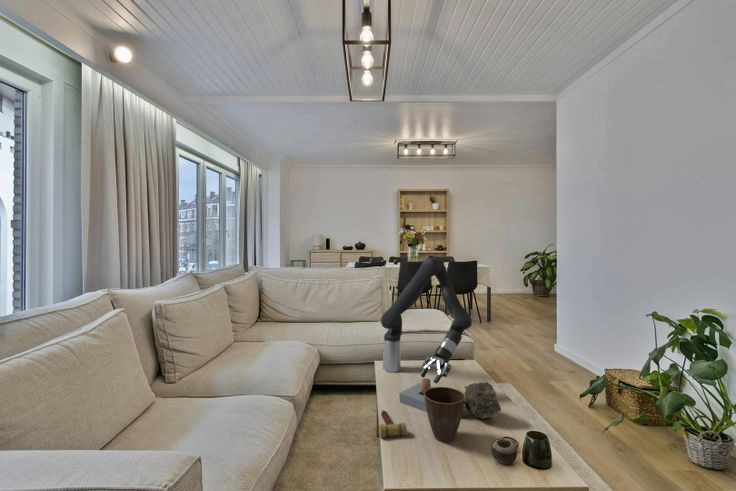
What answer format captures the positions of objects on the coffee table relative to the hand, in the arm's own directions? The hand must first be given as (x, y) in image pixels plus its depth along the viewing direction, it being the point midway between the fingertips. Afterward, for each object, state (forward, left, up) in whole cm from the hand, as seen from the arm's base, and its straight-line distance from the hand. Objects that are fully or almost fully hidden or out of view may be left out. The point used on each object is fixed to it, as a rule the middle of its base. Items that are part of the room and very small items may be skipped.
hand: (428, 379), depth 167 cm
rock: (+22, +1, -10) cm, 24 cm away
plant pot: (+22, -22, -10) cm, 32 cm away
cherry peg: (0, -1, -10) cm, 10 cm away
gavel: (0, -29, -11) cm, 31 cm away
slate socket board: (0, -2, -10) cm, 10 cm away
